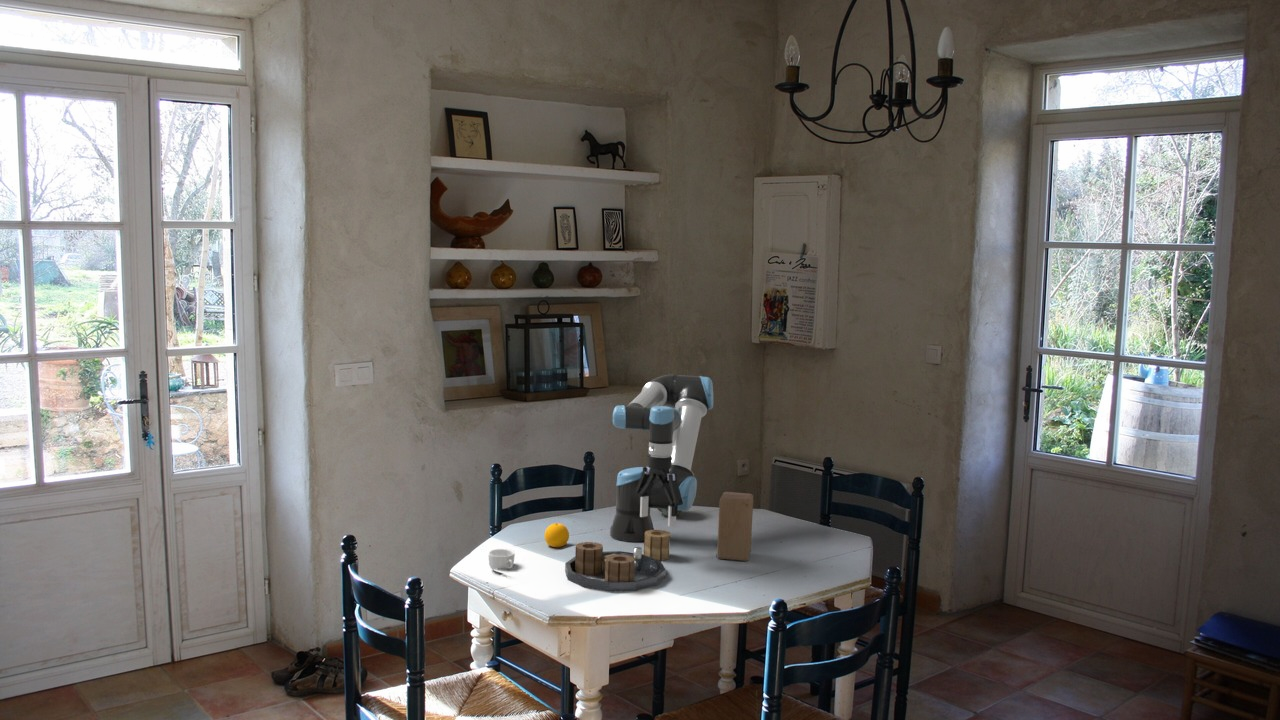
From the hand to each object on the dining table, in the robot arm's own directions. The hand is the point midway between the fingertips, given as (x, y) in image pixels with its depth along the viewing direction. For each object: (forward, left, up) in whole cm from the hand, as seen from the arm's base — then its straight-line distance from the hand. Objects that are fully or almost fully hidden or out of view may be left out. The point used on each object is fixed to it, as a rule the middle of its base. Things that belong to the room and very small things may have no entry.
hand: (657, 521), depth 313 cm
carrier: (+10, -25, -12) cm, 29 cm away
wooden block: (+14, +21, -12) cm, 28 cm away
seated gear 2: (+17, -29, -10) cm, 35 cm away
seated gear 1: (+2, -29, -10) cm, 31 cm away
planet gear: (0, 0, -12) cm, 12 cm away
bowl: (-35, +37, -12) cm, 53 cm away
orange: (-27, -20, -12) cm, 36 cm away
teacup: (-15, -48, -12) cm, 51 cm away
